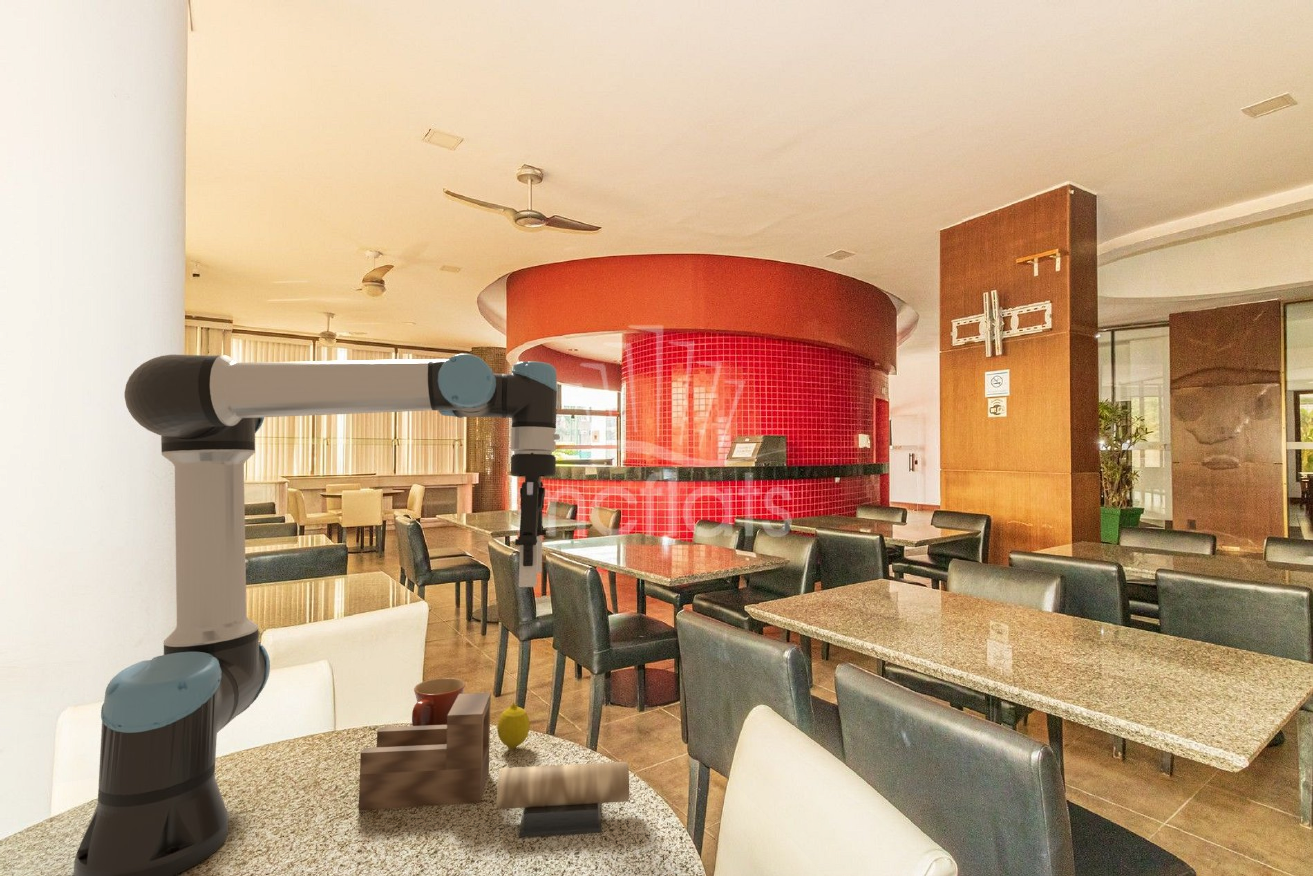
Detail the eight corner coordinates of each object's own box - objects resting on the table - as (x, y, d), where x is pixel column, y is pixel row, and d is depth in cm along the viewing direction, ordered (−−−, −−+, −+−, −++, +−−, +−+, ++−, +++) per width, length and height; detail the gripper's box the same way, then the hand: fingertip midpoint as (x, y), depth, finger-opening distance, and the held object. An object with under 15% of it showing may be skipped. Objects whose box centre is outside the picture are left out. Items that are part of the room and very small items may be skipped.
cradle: (518, 838, 82) (519, 817, 82) (524, 806, 89) (524, 787, 90) (601, 832, 83) (601, 812, 83) (599, 801, 91) (599, 783, 91)
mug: (430, 732, 115) (431, 676, 115) (472, 736, 113) (474, 679, 114) (390, 761, 103) (392, 698, 104) (437, 766, 101) (439, 703, 102)
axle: (496, 818, 83) (496, 785, 83) (501, 791, 88) (501, 760, 87) (628, 810, 86) (629, 778, 85) (625, 784, 91) (626, 753, 90)
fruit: (519, 758, 104) (520, 710, 105) (490, 754, 106) (491, 706, 106) (534, 745, 110) (535, 699, 110) (507, 740, 111) (508, 695, 112)
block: (358, 810, 88) (361, 719, 89) (378, 779, 97) (381, 696, 98) (480, 803, 90) (482, 714, 91) (488, 773, 99) (490, 692, 100)
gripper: (553, 450, 93) (550, 593, 91) (558, 455, 117) (556, 567, 116) (502, 450, 92) (498, 593, 90) (518, 455, 116) (515, 568, 115)
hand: (531, 579), depth 103 cm, fingers open, 13 cm apart
